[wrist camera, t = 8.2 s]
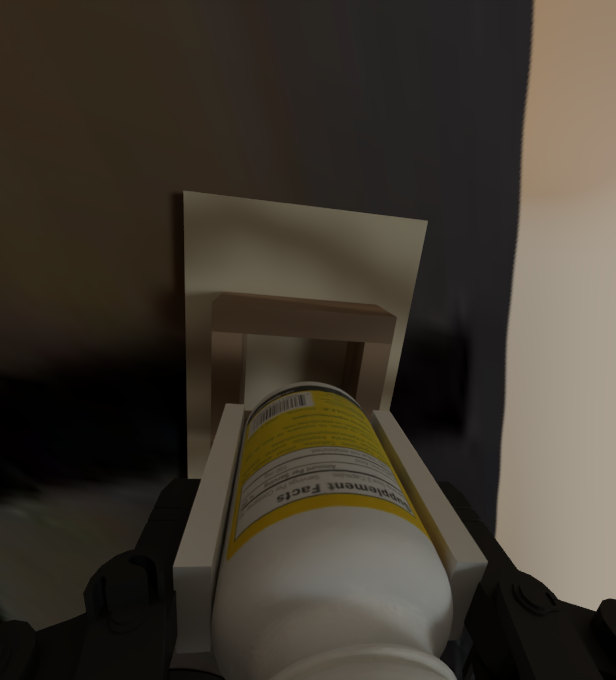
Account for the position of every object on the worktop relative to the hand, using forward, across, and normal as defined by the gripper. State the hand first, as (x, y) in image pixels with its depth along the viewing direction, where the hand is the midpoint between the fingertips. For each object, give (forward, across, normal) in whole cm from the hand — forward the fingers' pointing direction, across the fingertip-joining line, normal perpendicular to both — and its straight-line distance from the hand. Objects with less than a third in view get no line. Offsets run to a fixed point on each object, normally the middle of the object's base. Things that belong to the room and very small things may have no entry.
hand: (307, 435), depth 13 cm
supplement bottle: (+1, 0, 0) cm, 1 cm away
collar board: (+9, 0, 0) cm, 9 cm away
